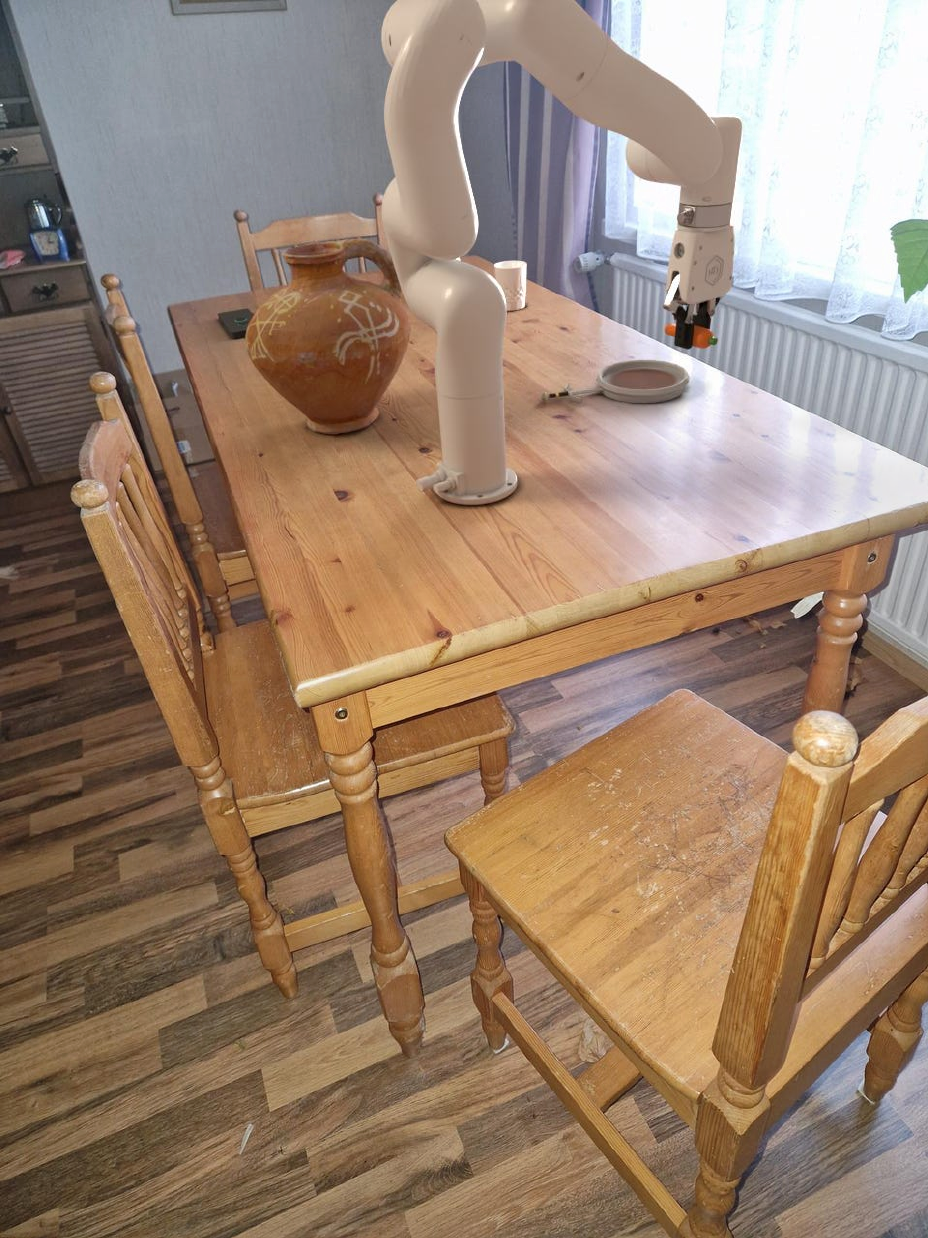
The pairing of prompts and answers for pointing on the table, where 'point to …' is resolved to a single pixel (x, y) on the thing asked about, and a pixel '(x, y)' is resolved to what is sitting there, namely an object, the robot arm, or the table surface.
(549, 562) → the table surface
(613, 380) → the frying pan
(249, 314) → the smart home device
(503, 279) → the white cup
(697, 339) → the carrot
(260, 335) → the jug
